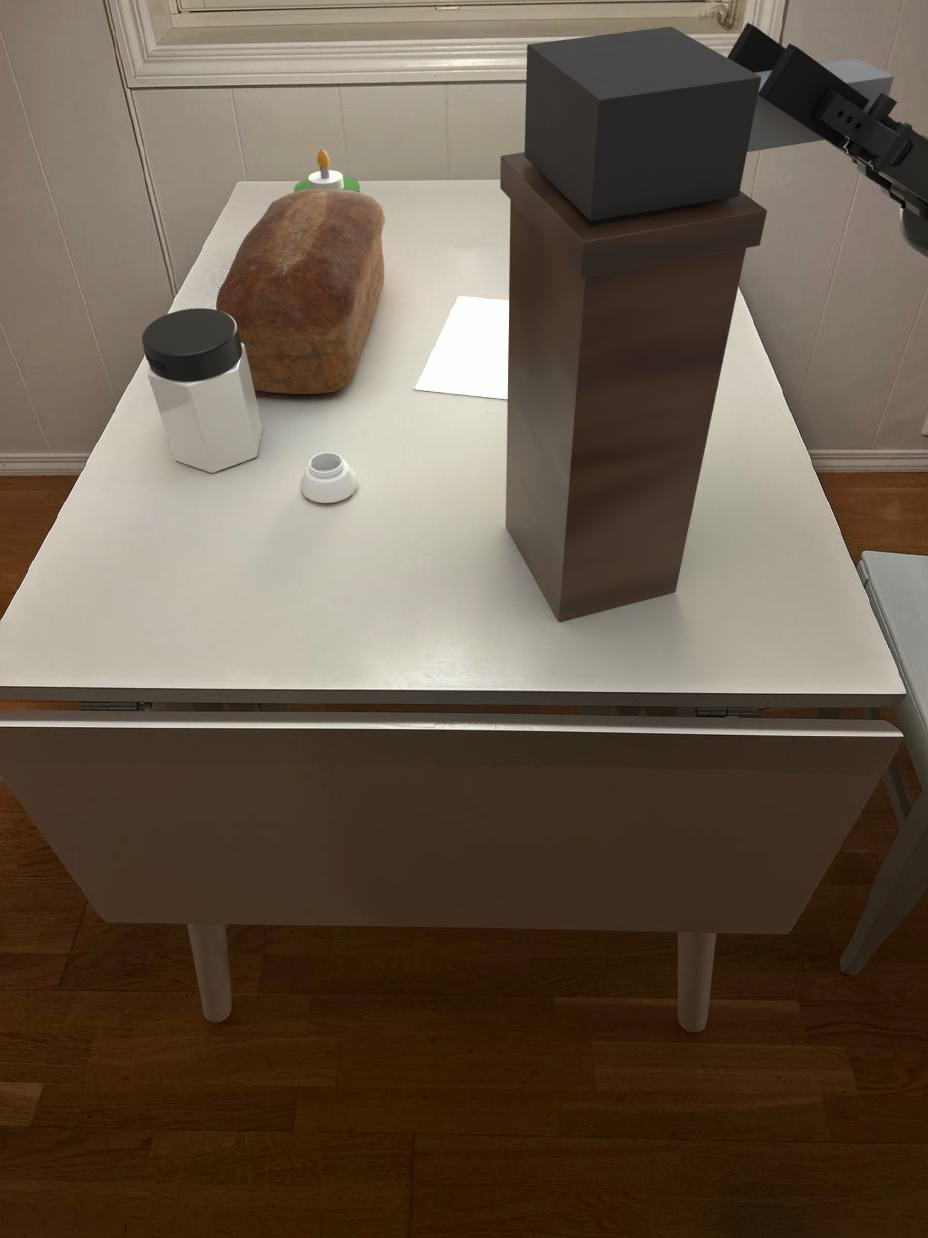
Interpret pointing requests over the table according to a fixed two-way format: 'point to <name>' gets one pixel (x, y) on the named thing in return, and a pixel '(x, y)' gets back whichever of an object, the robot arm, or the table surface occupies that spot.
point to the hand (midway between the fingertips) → (756, 59)
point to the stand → (612, 383)
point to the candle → (327, 178)
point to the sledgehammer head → (655, 119)
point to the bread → (307, 289)
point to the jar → (203, 388)
